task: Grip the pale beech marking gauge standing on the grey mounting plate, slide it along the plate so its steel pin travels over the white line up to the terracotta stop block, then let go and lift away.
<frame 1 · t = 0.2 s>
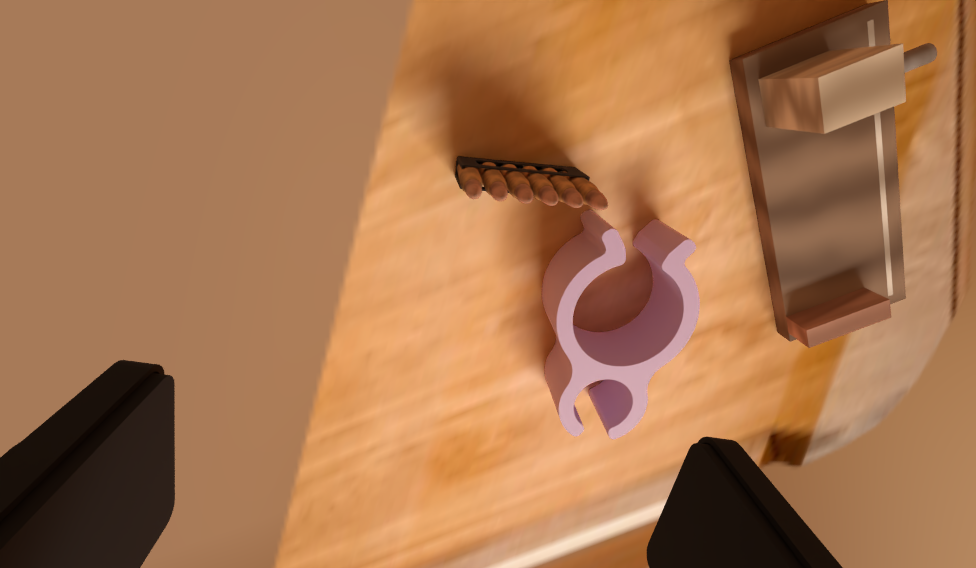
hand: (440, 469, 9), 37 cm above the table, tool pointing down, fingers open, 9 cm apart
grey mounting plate: (817, 187, 47), on the table
ammunition clip: (516, 172, 44), on the table
clip: (597, 310, 50), on the table
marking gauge: (796, 89, 42), point 2 cm above the table, touching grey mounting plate
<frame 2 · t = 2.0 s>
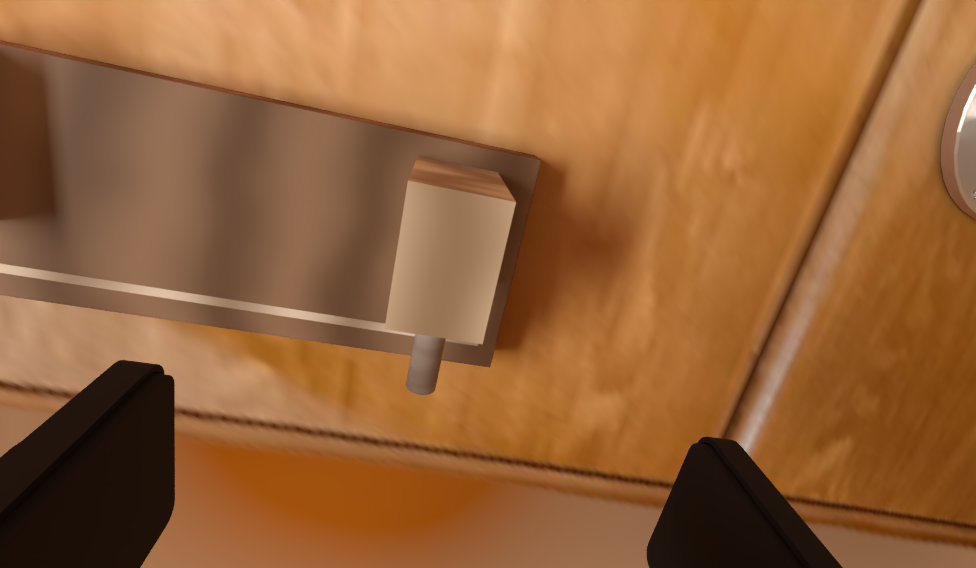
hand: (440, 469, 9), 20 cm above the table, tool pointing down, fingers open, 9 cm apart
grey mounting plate: (255, 213, 27), on the table
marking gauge: (447, 222, 26), point 2 cm above the table, touching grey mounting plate
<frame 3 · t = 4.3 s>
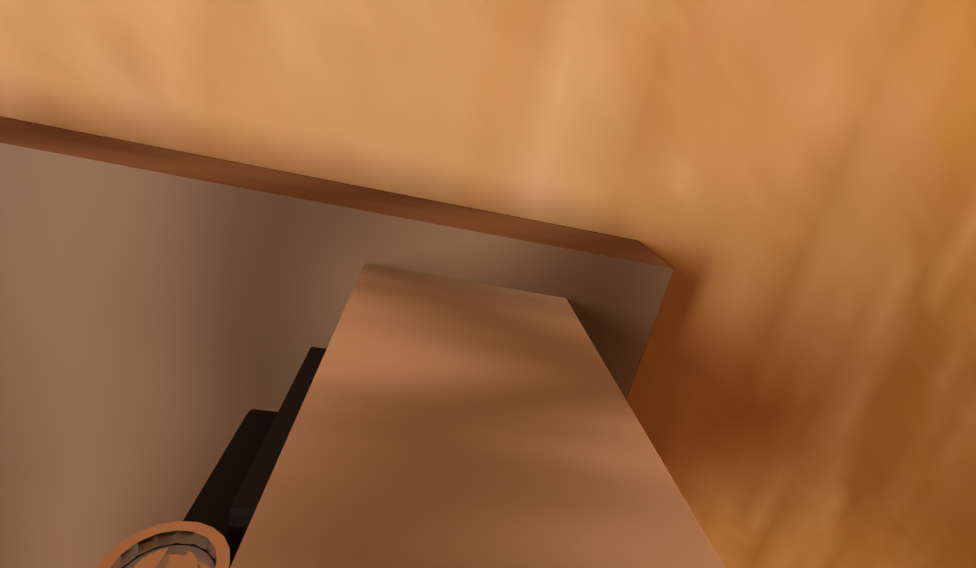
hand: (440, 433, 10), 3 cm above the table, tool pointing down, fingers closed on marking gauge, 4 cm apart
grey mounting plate: (4, 374, 12), on the table
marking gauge: (440, 409, 11), point 2 cm above the table, touching gripper, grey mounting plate
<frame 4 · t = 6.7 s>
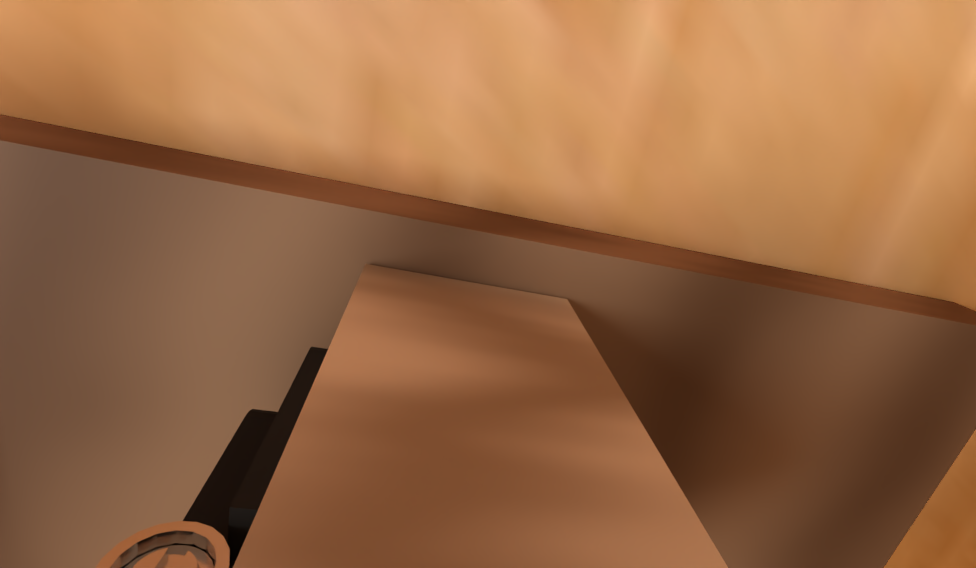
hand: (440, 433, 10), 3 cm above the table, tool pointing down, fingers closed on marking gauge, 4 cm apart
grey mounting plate: (396, 421, 13), on the table
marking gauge: (441, 410, 11), point 2 cm above the table, touching gripper
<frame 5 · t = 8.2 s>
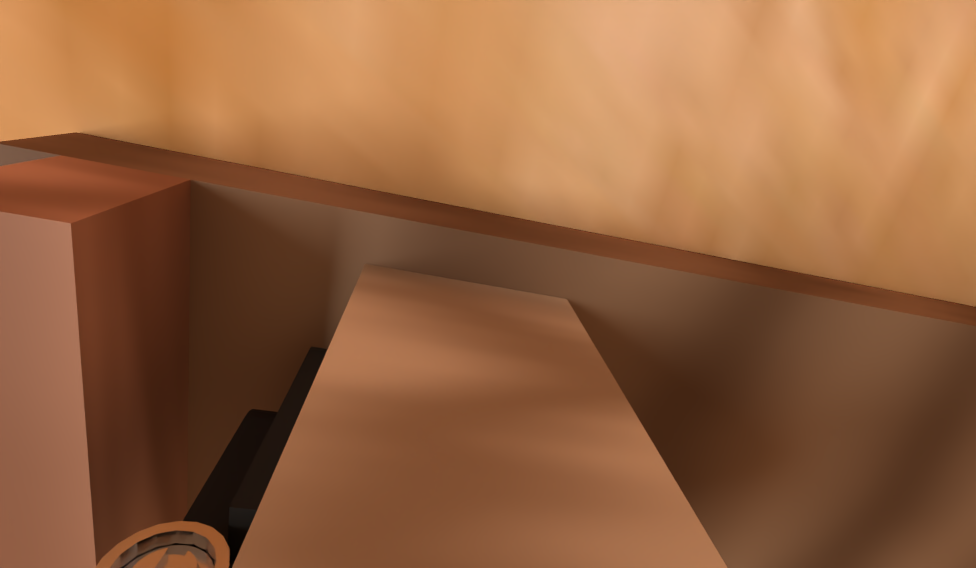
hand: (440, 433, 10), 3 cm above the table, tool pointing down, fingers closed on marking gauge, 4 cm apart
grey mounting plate: (634, 453, 14), on the table
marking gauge: (441, 410, 11), point 2 cm above the table, touching gripper
when the fingers open (3 cm above the table, at t = 9.5 s): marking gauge stays where it is, resting on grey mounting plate.
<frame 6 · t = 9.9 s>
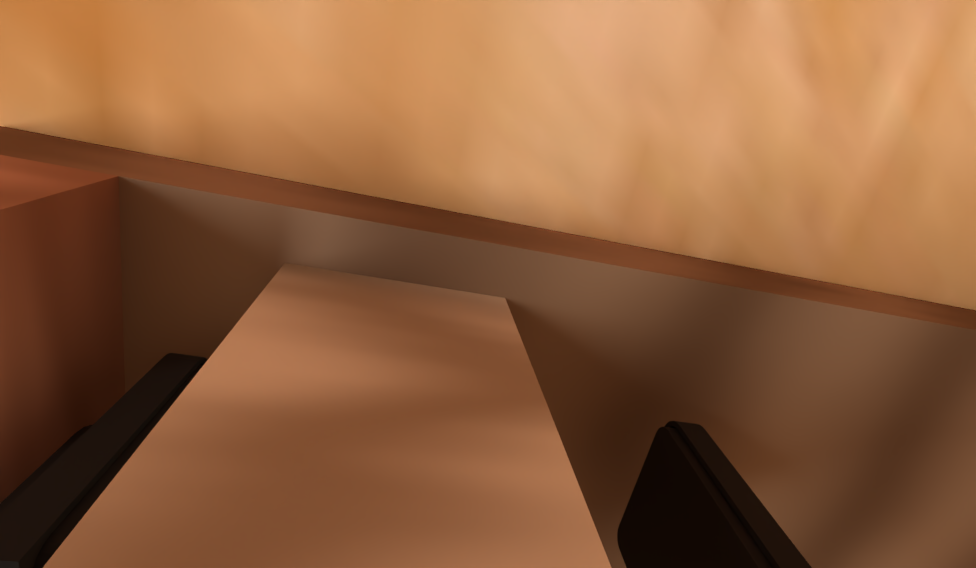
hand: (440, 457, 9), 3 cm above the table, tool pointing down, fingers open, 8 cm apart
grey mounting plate: (606, 458, 14), on the table
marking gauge: (376, 417, 10), point 2 cm above the table, touching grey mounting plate
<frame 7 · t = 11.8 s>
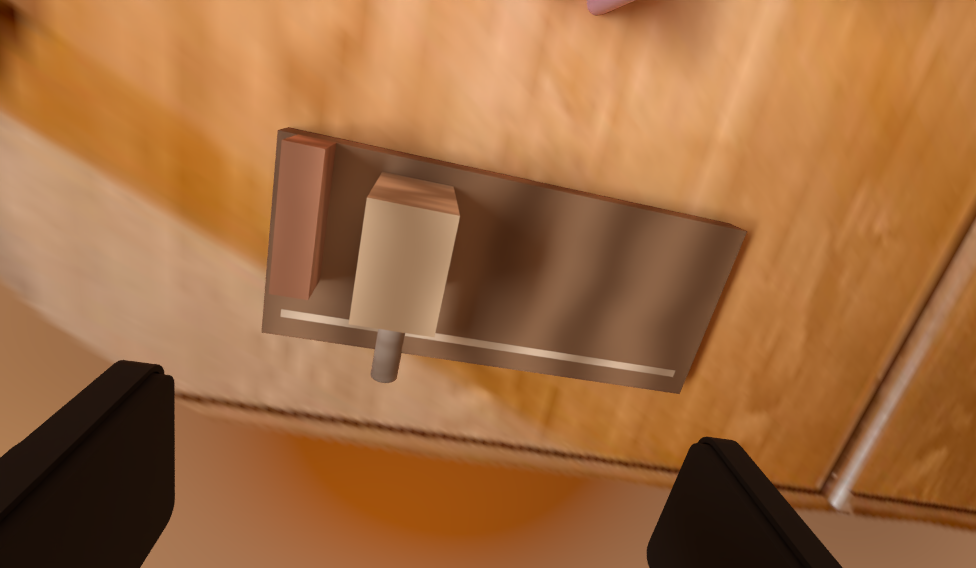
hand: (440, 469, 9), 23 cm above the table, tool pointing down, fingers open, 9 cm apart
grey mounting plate: (503, 270, 32), on the table
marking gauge: (409, 230, 29), point 2 cm above the table, touching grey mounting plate
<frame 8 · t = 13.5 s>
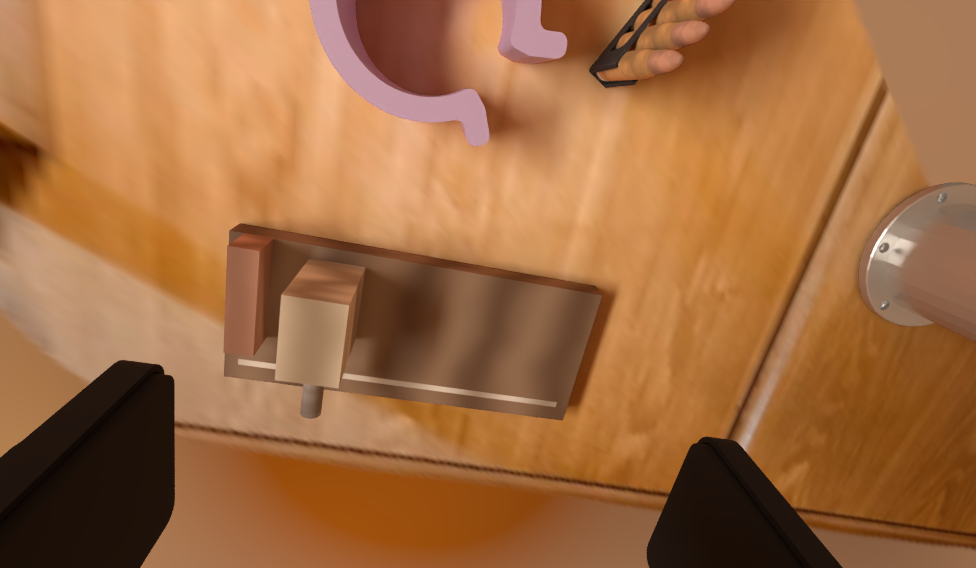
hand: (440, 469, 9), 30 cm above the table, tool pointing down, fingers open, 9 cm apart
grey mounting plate: (415, 324, 41), on the table
ammunition clip: (649, 15, 35), on the table
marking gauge: (333, 299, 38), point 2 cm above the table, touching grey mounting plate
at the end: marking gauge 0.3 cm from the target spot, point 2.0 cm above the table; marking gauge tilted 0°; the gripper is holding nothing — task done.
